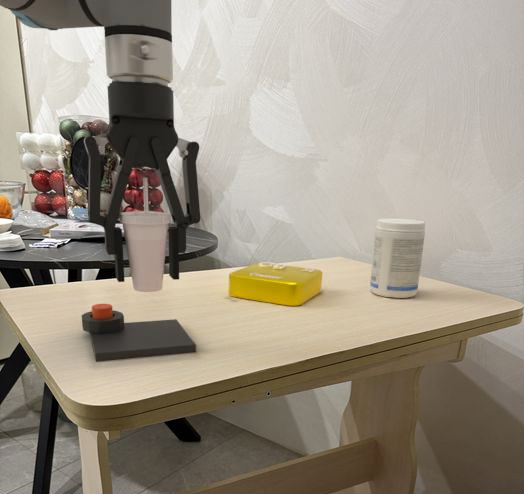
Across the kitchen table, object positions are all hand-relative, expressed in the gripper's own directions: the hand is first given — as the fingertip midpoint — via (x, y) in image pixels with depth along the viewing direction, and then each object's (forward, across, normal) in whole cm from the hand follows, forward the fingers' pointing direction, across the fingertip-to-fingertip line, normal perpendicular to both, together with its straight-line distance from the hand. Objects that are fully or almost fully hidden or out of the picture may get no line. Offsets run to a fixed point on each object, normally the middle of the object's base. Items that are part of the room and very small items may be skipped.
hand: (147, 278), depth 69 cm
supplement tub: (+10, +53, +19) cm, 57 cm away
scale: (+10, -1, +2) cm, 10 cm away
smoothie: (+2, 0, 0) cm, 2 cm away
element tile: (+10, +29, +24) cm, 39 cm away
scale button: (+7, -5, +7) cm, 11 cm away
